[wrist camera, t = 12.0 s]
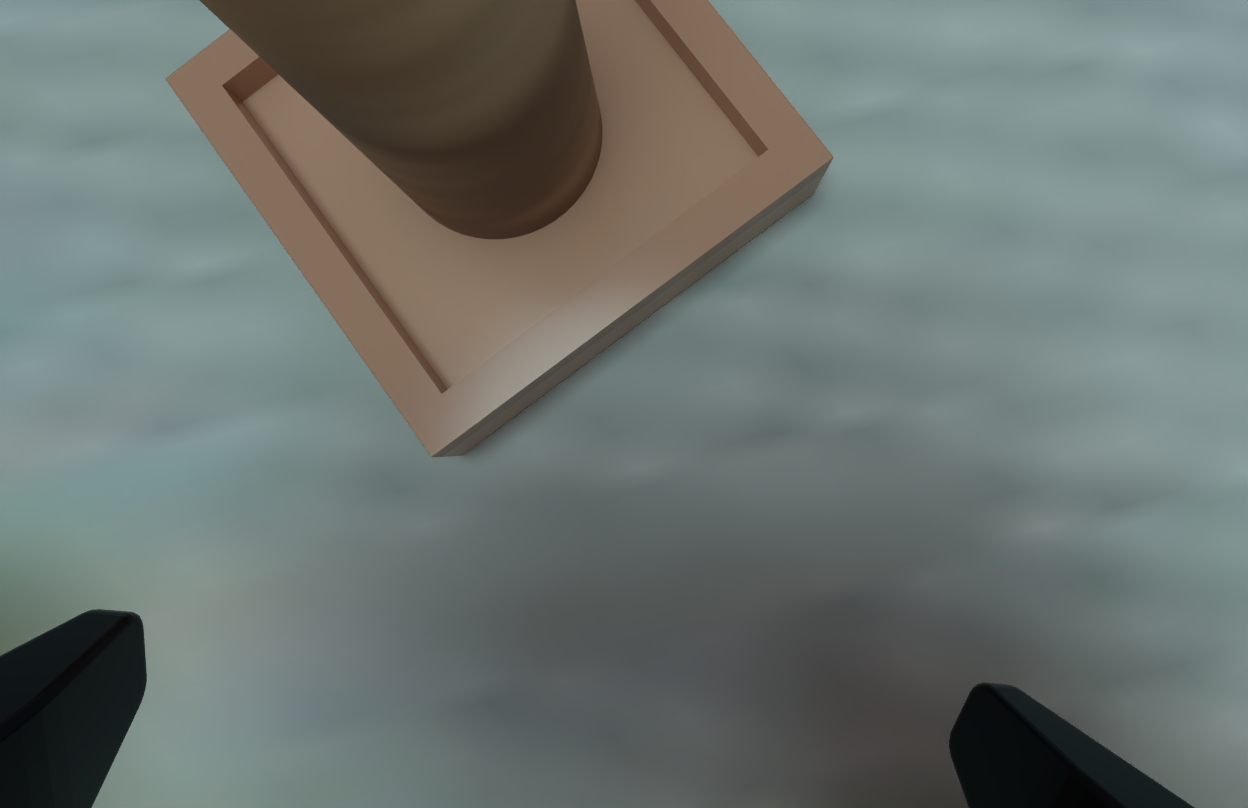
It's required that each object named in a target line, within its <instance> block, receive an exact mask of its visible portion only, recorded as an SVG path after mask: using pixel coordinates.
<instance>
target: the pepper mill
mask: <svg viewBox="0 0 1248 808" xmlns="http://www.w3.org/2000/svg"><path fill="white" fill-rule="evenodd" d="M200 1H201V2H202V3H203V4H204V5H205V6H206V7H207V8H208V9H209V10H210V11H211V12H213V13H214V14H215V15H216V16H217V17H218V18H219V19H220V20H221V21H222V22H223V23H224V24H225V25H226V26H227V27H229V28H230V29H231V30H232V31H233V32H234V33H235V34H236V35H237V36H238V37H239V38H240V39H241V40H242V41H243V42H244V43H246V44H247V45H248V46H249V47H250V48H251V49H252V50H253V51H254V52H255V53H256V54H257V55H258V56H259V57H260V58H262V59H263V60H264V61H265V62H266V63H267V64H268V65H269V66H270V67H271V68H272V69H273V70H274V71H275V72H276V73H278V74H279V75H280V76H281V77H282V78H283V79H284V80H285V81H286V82H287V83H288V84H289V85H290V86H291V87H292V88H293V89H295V90H296V91H297V92H298V93H299V94H300V95H301V96H302V97H303V98H304V99H305V100H306V101H307V102H308V103H309V104H311V105H312V106H313V107H314V108H315V109H316V110H317V111H318V112H319V113H320V114H321V115H322V116H323V117H324V118H325V119H327V120H328V121H329V122H330V123H331V124H332V125H333V126H334V127H335V128H336V129H337V130H338V131H339V132H340V133H341V134H342V135H344V136H345V137H346V138H347V139H348V140H349V141H350V142H351V143H352V144H353V145H354V146H355V147H356V148H357V149H358V150H360V151H361V152H362V153H363V154H364V155H365V156H366V157H367V158H368V159H369V160H370V161H371V162H372V163H373V164H374V165H376V166H377V167H378V168H379V169H380V170H381V171H382V172H383V173H384V174H385V175H386V176H387V177H388V178H389V179H390V180H392V181H393V182H394V183H395V184H396V185H397V186H398V187H399V188H400V189H401V190H402V191H403V192H404V193H405V194H406V195H407V196H409V197H410V198H411V199H412V200H413V201H414V202H415V203H416V204H417V205H418V206H419V207H420V208H421V209H422V210H423V211H425V212H426V213H427V214H428V215H429V216H430V217H432V218H433V219H434V220H435V221H437V222H438V223H440V224H441V225H443V226H445V227H447V228H448V229H450V230H453V231H455V232H458V233H460V234H463V235H467V236H470V237H474V238H482V239H508V238H515V237H519V236H523V235H526V234H530V233H532V232H534V231H537V230H539V229H542V228H544V227H545V226H547V225H549V224H550V223H552V222H554V221H555V220H557V219H558V218H559V217H560V216H562V215H563V214H564V213H566V212H567V211H568V210H569V209H570V208H571V207H572V206H573V205H574V204H575V203H576V201H577V200H578V199H579V198H580V196H581V195H582V194H583V192H584V191H585V189H586V188H587V186H588V184H589V183H590V181H591V179H592V177H593V174H594V172H595V170H596V167H597V164H598V160H599V157H600V153H601V146H602V119H601V112H600V108H599V103H598V99H597V94H596V90H595V85H594V81H593V76H592V72H591V67H590V63H589V58H588V54H587V49H586V45H585V40H584V36H583V31H582V27H581V22H580V18H579V13H578V9H577V4H576V0H200Z"/></svg>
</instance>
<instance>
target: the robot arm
mask: <svg viewBox="0 0 1248 808" xmlns="http://www.w3.org/2000/svg"><path fill="white" fill-rule="evenodd" d="M146 681H147V673H146V658H145V643H144V629H143V623H142V620H141V618H140V616H139V615H137V614H136V613H133V612H126V611H114V610H102V609H97V610H90V611H87V612H85V613H82V614H80V615H78V616H76V617H74V618H72V619H71V620H69V621H67V622H65V623H63V624H61V625H59V626H57V627H55V628H53V629H51V630H49V631H47V632H45V633H43V634H42V635H40V636H38V637H36V638H34V639H32V640H30V641H28V642H26V643H24V644H22V645H20V646H18V647H16V648H14V649H13V650H11V651H9V652H7V653H5V654H3V655H1V656H0V808H92V806H93V803H94V801H95V799H96V797H97V795H98V793H99V791H100V789H101V787H102V784H103V782H104V780H105V778H106V776H107V774H108V772H109V770H110V768H111V765H112V763H113V761H114V759H115V757H116V755H117V753H118V751H119V748H120V746H121V744H122V742H123V740H124V738H125V736H126V734H127V732H128V729H129V727H130V725H131V723H132V721H133V719H134V717H135V715H136V713H137V710H138V708H139V706H140V704H141V701H142V699H143V696H144V692H145V688H146ZM949 748H950V754H951V758H952V761H953V764H954V767H955V769H956V772H957V775H958V778H959V781H960V784H961V787H962V789H963V792H964V795H965V798H966V801H967V804H968V807H969V808H1194V807H1193V806H1191V805H1190V804H1188V803H1187V802H1185V801H1184V800H1183V799H1181V798H1180V797H1178V796H1177V795H1175V794H1174V793H1172V792H1171V791H1169V790H1168V789H1166V788H1165V787H1163V786H1162V785H1160V784H1159V783H1157V782H1156V781H1154V780H1153V779H1151V778H1150V777H1148V776H1147V775H1145V774H1144V773H1142V772H1141V771H1140V770H1138V769H1137V768H1135V767H1134V766H1132V765H1131V764H1129V763H1128V762H1126V761H1125V760H1123V759H1122V758H1120V757H1119V756H1117V755H1116V754H1114V753H1113V752H1111V751H1110V750H1108V749H1107V748H1105V747H1104V746H1102V745H1101V744H1099V743H1098V742H1097V741H1095V740H1094V739H1092V738H1091V737H1089V736H1088V735H1086V734H1085V733H1083V732H1082V731H1080V730H1079V729H1077V728H1076V727H1074V726H1073V725H1071V724H1070V723H1068V722H1067V721H1065V720H1064V719H1062V718H1061V717H1059V716H1058V715H1056V714H1055V713H1054V712H1052V711H1051V710H1049V709H1048V708H1046V707H1045V706H1043V705H1042V704H1040V703H1039V702H1037V701H1036V700H1034V699H1033V698H1031V697H1030V696H1028V695H1027V694H1025V693H1024V692H1022V691H1021V690H1019V689H1018V688H1016V687H1014V686H1011V685H1006V684H994V683H980V684H977V685H976V686H975V687H973V688H972V690H971V691H970V693H969V695H968V697H967V699H966V701H965V703H964V706H963V708H962V710H961V712H960V714H959V716H958V718H957V720H956V722H955V724H954V726H953V728H952V731H951V733H950V739H949Z"/></svg>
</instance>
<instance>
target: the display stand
mask: <svg viewBox="0 0 1248 808" xmlns="http://www.w3.org/2000/svg"><path fill="white" fill-rule="evenodd" d="M576 4H577V9H578V13H579V18H580V22H581V27H582V31H583V36H584V40H585V45H586V49H587V54H588V58H589V63H590V67H591V72H592V76H593V81H594V85H595V90H596V94H597V99H598V103H599V108H600V112H601V119H602V146H601V153H600V157H599V160H598V164H597V167H596V170H595V172H594V174H593V177H592V179H591V181H590V183H589V184H588V186H587V188H586V189H585V191H584V192H583V194H582V195H581V196H580V198H579V199H578V200H577V201H576V203H575V204H574V205H573V206H572V207H571V208H570V209H569V210H568V211H567V212H566V213H564V214H563V215H562V216H560V217H559V218H558V219H557V220H555V221H554V222H552V223H550V224H549V225H547V226H545V227H544V228H542V229H539V230H537V231H534V232H532V233H530V234H526V235H523V236H519V237H515V238H508V239H482V238H474V237H470V236H467V235H463V234H460V233H458V232H455V231H453V230H450V229H448V228H447V227H445V226H443V225H441V224H440V223H438V222H437V221H435V220H434V219H433V218H432V217H430V216H429V215H428V214H427V213H426V212H425V211H423V210H422V209H421V208H420V207H419V206H418V205H417V204H416V203H415V202H414V201H413V200H412V199H411V198H410V197H409V196H407V195H406V194H405V193H404V192H403V191H402V190H401V189H400V188H399V187H398V186H397V185H396V184H395V183H394V182H393V181H392V180H390V179H389V178H388V177H387V176H386V175H385V174H384V173H383V172H382V171H381V170H380V169H379V168H378V167H377V166H376V165H374V164H373V163H372V162H371V161H370V160H369V159H368V158H367V157H366V156H365V155H364V154H363V153H362V152H361V151H360V150H358V149H357V148H356V147H355V146H354V145H353V144H352V143H351V142H350V141H349V140H348V139H347V138H346V137H345V136H344V135H342V134H341V133H340V132H339V131H338V130H337V129H336V128H335V127H334V126H333V125H332V124H331V123H330V122H329V121H328V120H327V119H325V118H324V117H323V116H322V115H321V114H320V113H319V112H318V111H317V110H316V109H315V108H314V107H313V106H312V105H311V104H309V103H308V102H307V101H306V100H305V99H304V98H303V97H302V96H301V95H300V94H299V93H298V92H297V91H296V90H295V89H293V88H292V87H291V86H290V85H289V84H288V83H287V82H286V81H285V80H284V79H283V78H282V77H281V76H280V75H279V74H278V73H276V72H275V71H274V70H273V69H272V68H271V67H270V66H269V65H268V64H267V63H266V62H265V61H264V60H263V59H262V58H260V57H259V56H258V55H257V54H256V53H255V52H254V51H253V50H252V49H251V48H250V47H249V46H248V45H247V44H246V43H244V42H243V41H242V40H241V39H240V38H239V37H238V36H237V35H236V34H235V33H234V32H233V31H232V30H231V29H229V30H228V31H227V32H225V33H224V34H223V35H221V36H220V37H219V38H218V39H216V40H215V41H214V42H212V43H211V44H210V45H208V46H207V47H206V48H204V49H203V50H202V51H201V52H199V53H198V54H197V55H195V56H194V57H193V58H191V59H190V60H189V61H188V62H186V63H185V64H184V65H182V66H181V67H180V68H178V69H177V70H176V71H175V72H173V73H172V74H171V75H169V76H168V77H167V78H165V79H166V81H167V82H168V83H169V85H170V86H171V88H172V89H173V91H174V92H175V93H176V95H177V96H178V98H179V99H180V101H181V102H182V103H183V105H184V106H185V108H186V109H187V111H188V112H189V113H190V115H191V116H192V118H193V119H194V120H195V122H196V123H197V125H198V126H199V128H200V129H201V130H202V132H203V133H204V135H205V136H206V138H207V139H208V140H209V142H210V143H211V145H212V146H213V147H214V149H215V150H216V152H217V153H218V155H219V156H220V157H221V159H222V160H223V162H224V163H225V165H226V166H227V167H228V169H229V170H230V172H231V173H232V174H233V176H234V177H235V179H236V180H237V182H238V183H239V184H240V186H241V187H242V189H243V190H244V192H245V193H246V194H247V196H248V197H249V199H250V200H251V201H252V203H253V204H254V206H255V207H256V209H257V210H258V211H259V213H260V214H261V216H262V217H263V219H264V220H265V221H266V223H267V224H268V226H269V227H270V228H271V230H272V231H273V233H274V234H275V236H276V237H277V238H278V240H279V241H280V243H281V244H282V246H283V247H284V248H285V250H286V251H287V253H288V254H289V255H290V257H291V258H292V260H293V261H294V263H295V264H296V265H297V267H298V268H299V270H300V271H301V273H302V274H303V275H304V277H305V278H306V280H307V281H308V283H309V284H310V285H311V287H312V288H313V290H314V291H315V292H316V294H317V295H318V297H319V298H320V300H321V301H322V302H323V304H324V305H325V307H326V308H327V310H328V311H329V312H330V314H331V315H332V317H333V318H334V319H335V321H336V322H337V324H338V325H339V327H340V328H341V329H342V331H343V332H344V334H345V335H346V337H347V338H348V339H349V341H350V342H351V344H352V345H353V346H354V348H355V349H356V351H357V352H358V354H359V355H360V356H361V358H362V359H363V361H364V362H365V364H366V365H367V366H368V368H369V369H370V371H371V372H372V373H373V375H374V376H375V378H376V379H377V381H378V382H379V383H380V385H381V386H382V388H383V389H384V391H385V392H386V393H387V395H388V396H389V398H390V399H391V400H392V402H393V403H394V405H395V406H396V408H397V409H398V410H399V412H400V413H401V415H402V416H403V418H404V419H405V420H406V422H407V423H408V425H409V426H410V427H411V429H412V430H413V432H414V433H415V435H416V436H417V437H418V439H419V440H420V442H421V443H422V445H423V446H424V447H425V449H426V450H427V452H428V453H429V454H430V456H431V457H444V456H462V455H464V454H465V453H466V452H468V451H469V450H470V449H472V448H473V447H474V446H476V445H477V444H478V443H480V442H481V441H482V440H484V439H485V438H486V437H488V436H489V435H490V434H492V433H493V432H494V431H496V430H497V429H498V428H500V427H501V426H502V425H504V424H505V423H507V422H508V421H509V420H511V419H512V418H513V417H515V416H516V415H517V414H519V413H520V412H521V411H523V410H524V409H525V408H527V407H528V406H529V405H531V404H532V403H533V402H535V401H536V400H537V399H539V398H540V397H541V396H543V395H544V394H545V393H547V392H548V391H549V390H551V389H552V388H554V387H555V386H556V385H558V384H559V383H560V382H562V381H563V380H564V379H566V378H567V377H568V376H570V375H571V374H572V373H574V372H575V371H576V370H578V369H579V368H580V367H582V366H583V365H584V364H586V363H587V362H588V361H590V360H591V359H592V358H594V357H595V356H596V355H598V354H599V353H601V352H602V351H603V350H605V349H606V348H607V347H609V346H610V345H611V344H613V343H614V342H615V341H617V340H618V339H619V338H621V337H622V336H623V335H625V334H626V333H627V332H629V331H630V330H631V329H633V328H634V327H635V326H637V325H638V324H639V323H641V322H642V321H644V320H645V319H646V318H648V317H649V316H650V315H652V314H653V313H654V312H656V311H657V310H658V309H660V308H661V307H662V306H664V305H665V304H666V303H668V302H669V301H670V300H672V299H673V298H674V297H676V296H677V295H678V294H680V293H681V292H682V291H684V290H685V289H686V288H688V287H689V286H691V285H692V284H693V283H695V282H696V281H697V280H699V279H700V278H701V277H703V276H704V275H705V274H707V273H708V272H709V271H711V270H712V269H713V268H715V267H716V266H717V265H719V264H720V263H721V262H723V261H724V260H725V259H727V258H728V257H729V256H731V255H732V254H734V253H735V252H736V251H738V250H739V249H740V248H742V247H743V246H744V245H746V244H747V243H748V242H750V241H751V240H752V239H754V238H755V237H756V236H758V235H759V234H760V233H762V232H763V231H764V230H766V229H767V228H768V227H770V226H771V225H772V224H774V223H775V222H776V221H778V220H779V219H781V218H782V217H783V216H785V215H786V214H787V213H789V212H790V211H791V210H793V209H794V208H795V207H797V206H798V205H799V204H801V203H802V202H803V201H805V200H806V199H807V198H809V197H810V196H811V195H813V194H814V192H815V190H816V188H817V187H818V185H819V183H820V181H821V179H822V177H823V176H824V174H825V172H826V170H827V168H828V167H829V165H830V163H831V161H832V159H833V156H832V155H831V153H830V152H829V151H828V150H827V148H826V147H825V146H824V145H823V143H822V142H821V141H820V140H819V138H818V137H817V136H816V135H815V133H814V132H813V131H812V130H811V128H810V127H809V126H808V125H807V123H806V122H805V121H804V120H803V118H802V117H801V116H800V115H799V113H798V112H797V111H796V110H795V108H794V107H793V106H792V105H791V103H790V102H789V101H788V100H787V98H786V97H785V96H784V95H783V93H782V92H781V91H780V90H779V88H778V87H777V86H776V85H775V83H774V82H773V81H772V80H771V78H770V77H769V76H768V75H767V73H766V72H765V71H764V70H763V68H762V67H761V66H760V65H759V63H758V62H757V61H756V60H755V58H754V57H753V56H752V55H751V53H750V52H749V51H748V50H747V49H746V47H745V46H744V45H743V44H742V42H741V41H740V40H739V39H738V37H737V36H736V35H735V34H734V32H733V31H732V30H731V29H730V27H729V26H728V25H727V24H726V22H725V21H724V20H723V19H722V17H721V16H720V15H719V14H718V12H717V11H716V10H715V9H714V7H713V6H712V5H711V4H710V2H709V1H708V0H576Z"/></svg>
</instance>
